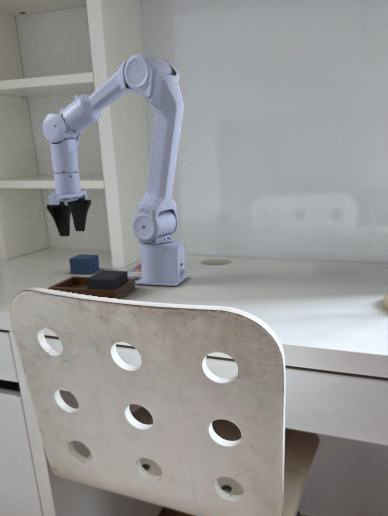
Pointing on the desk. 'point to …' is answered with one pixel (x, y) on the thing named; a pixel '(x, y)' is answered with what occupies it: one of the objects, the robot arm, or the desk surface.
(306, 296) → the desk surface
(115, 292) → the pad tray
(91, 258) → the navy blue cube
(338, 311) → the desk surface
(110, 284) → the charcoal pad
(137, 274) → the smartphone
